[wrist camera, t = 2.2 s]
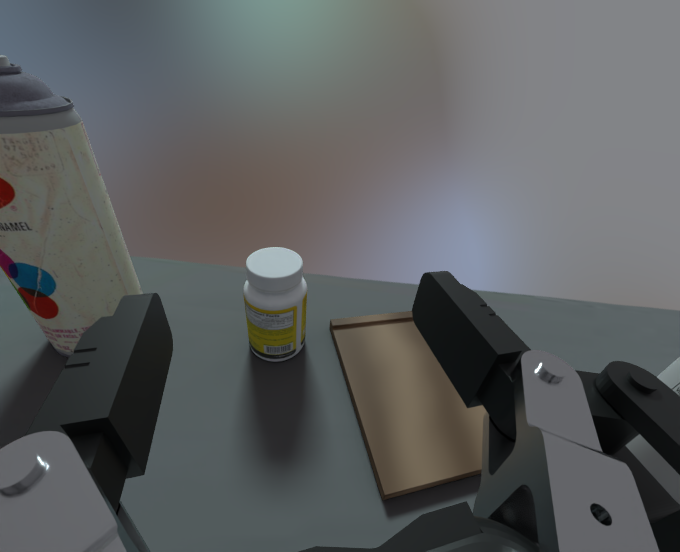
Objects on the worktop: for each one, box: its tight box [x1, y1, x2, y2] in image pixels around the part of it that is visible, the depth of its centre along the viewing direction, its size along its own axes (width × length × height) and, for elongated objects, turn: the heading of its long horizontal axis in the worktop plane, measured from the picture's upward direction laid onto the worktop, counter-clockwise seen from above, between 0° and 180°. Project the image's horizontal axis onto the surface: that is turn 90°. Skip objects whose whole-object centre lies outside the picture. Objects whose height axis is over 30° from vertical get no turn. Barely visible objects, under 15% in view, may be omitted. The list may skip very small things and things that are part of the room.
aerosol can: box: [0, 55, 143, 358], centre depth 20 cm, size 7×7×20 cm
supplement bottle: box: [244, 247, 307, 362], centre depth 24 cm, size 5×5×8 cm
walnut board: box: [330, 311, 486, 500], centre depth 25 cm, size 14×14×1 cm
